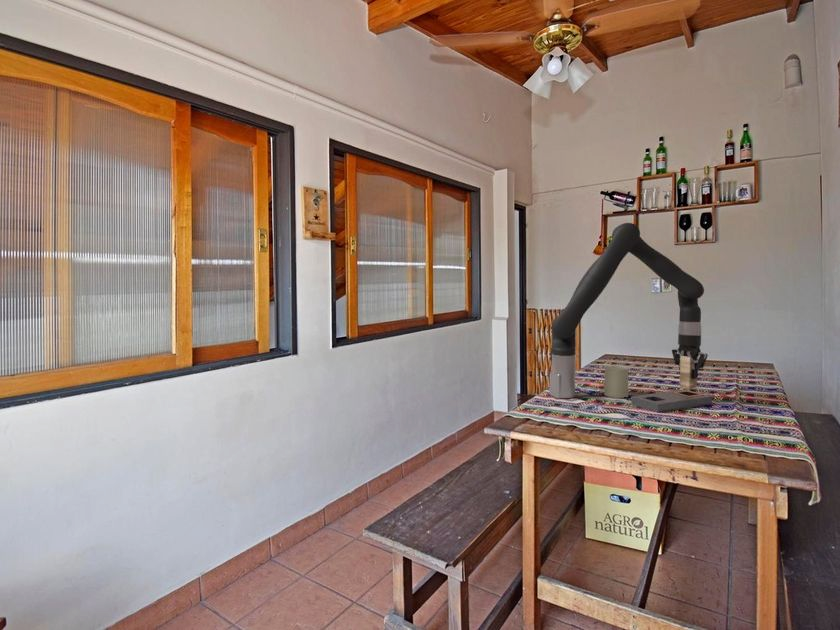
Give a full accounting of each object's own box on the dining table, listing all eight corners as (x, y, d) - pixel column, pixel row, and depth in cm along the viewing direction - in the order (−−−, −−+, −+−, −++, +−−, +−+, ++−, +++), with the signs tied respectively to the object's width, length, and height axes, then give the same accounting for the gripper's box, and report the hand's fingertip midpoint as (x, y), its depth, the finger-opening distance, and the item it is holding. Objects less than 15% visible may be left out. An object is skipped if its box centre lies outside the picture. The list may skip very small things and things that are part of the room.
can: (623, 392, 193) (624, 364, 192) (631, 398, 184) (632, 368, 183) (601, 392, 194) (601, 364, 193) (607, 397, 185) (608, 368, 184)
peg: (689, 388, 174) (689, 357, 173) (679, 386, 178) (680, 355, 177) (696, 387, 175) (697, 356, 174) (687, 385, 179) (688, 355, 178)
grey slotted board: (657, 412, 164) (657, 403, 163) (631, 404, 175) (631, 396, 175) (711, 404, 173) (712, 395, 173) (683, 396, 184) (683, 388, 184)
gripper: (666, 331, 180) (665, 375, 182) (699, 335, 167) (698, 382, 168) (680, 330, 183) (679, 373, 184) (714, 334, 170) (713, 380, 171)
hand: (688, 377), depth 176 cm, fingers closed on peg, 4 cm apart
